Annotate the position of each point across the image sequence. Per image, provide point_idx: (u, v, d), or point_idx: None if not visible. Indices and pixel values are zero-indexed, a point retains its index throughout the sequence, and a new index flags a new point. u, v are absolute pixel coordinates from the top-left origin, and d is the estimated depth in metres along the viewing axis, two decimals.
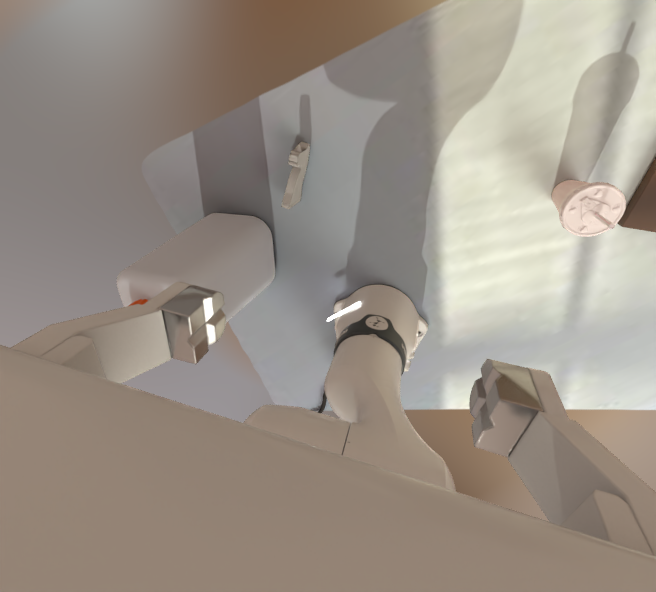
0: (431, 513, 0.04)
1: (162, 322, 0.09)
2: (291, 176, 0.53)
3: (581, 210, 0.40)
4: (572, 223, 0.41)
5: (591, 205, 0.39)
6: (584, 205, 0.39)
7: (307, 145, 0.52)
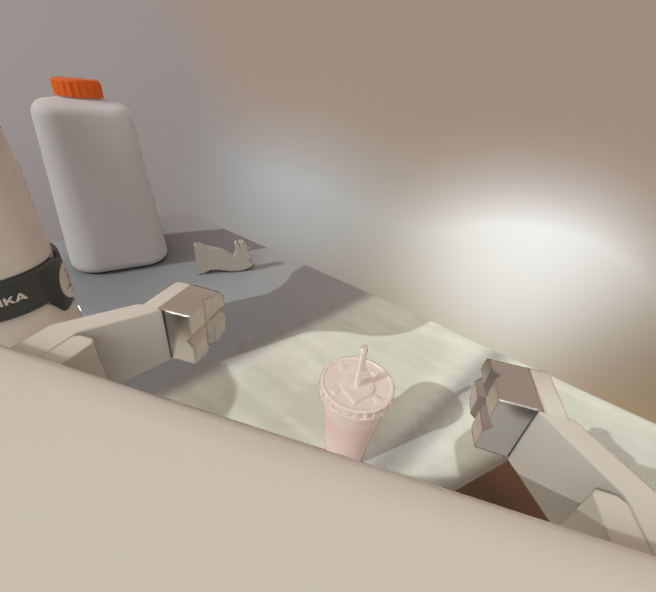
0: (431, 512, 0.04)
1: (162, 322, 0.09)
2: (223, 249, 0.59)
3: (349, 371, 0.29)
4: (330, 376, 0.28)
5: None
6: (355, 368, 0.29)
7: (251, 262, 0.61)
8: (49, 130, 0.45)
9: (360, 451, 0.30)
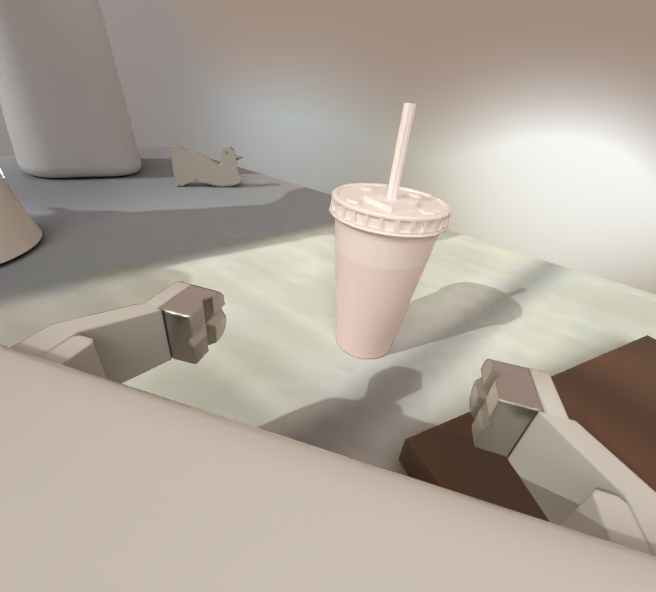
0: (431, 513, 0.04)
1: (162, 322, 0.09)
2: (206, 156, 0.49)
3: (376, 191, 0.18)
4: (348, 192, 0.18)
5: None
6: (386, 187, 0.19)
7: (241, 176, 0.51)
8: None
9: (391, 323, 0.19)
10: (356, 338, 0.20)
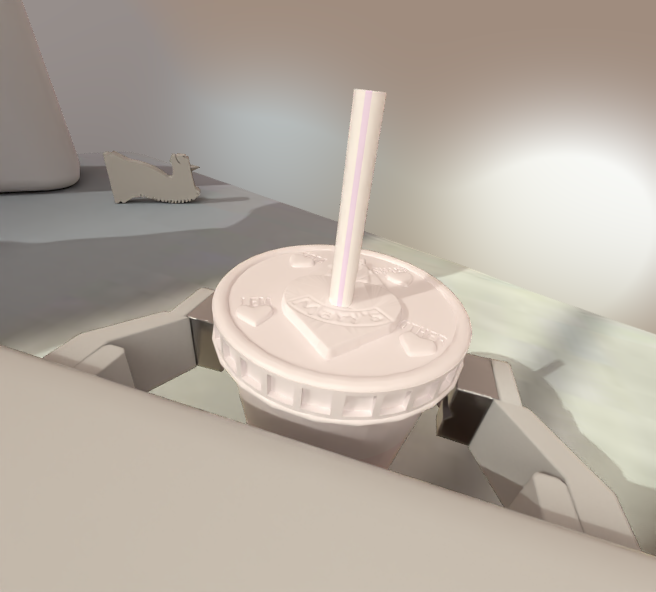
0: (431, 513, 0.04)
1: (189, 329, 0.09)
2: (153, 167, 0.40)
3: (319, 270, 0.09)
4: (257, 279, 0.09)
5: None
6: None
7: (198, 190, 0.42)
8: None
9: None
10: None
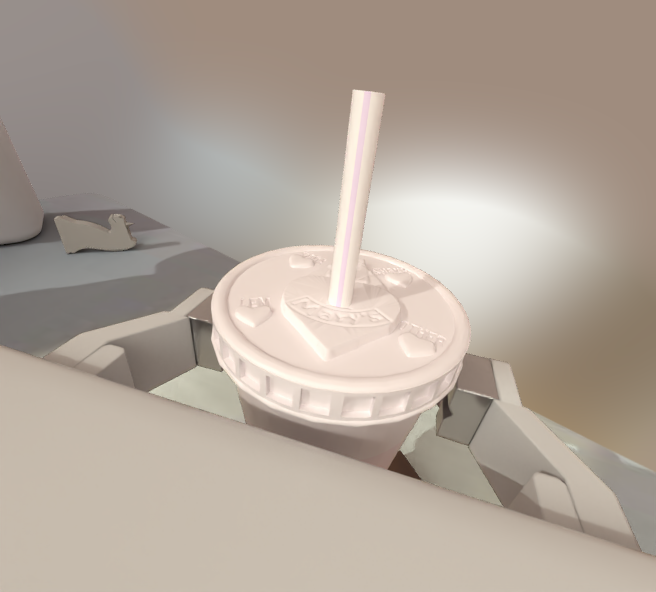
0: (431, 512, 0.04)
1: (189, 329, 0.09)
2: (96, 225, 0.51)
3: (318, 271, 0.09)
4: (256, 279, 0.09)
5: None
6: None
7: (134, 240, 0.53)
8: None
9: None
10: None
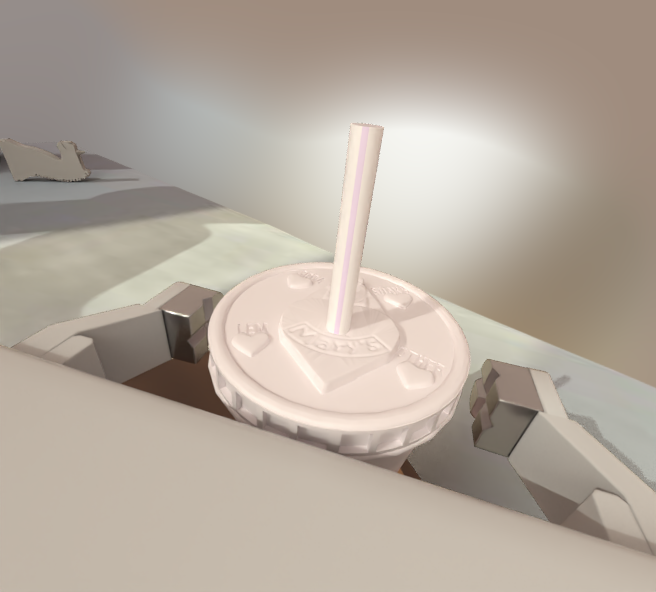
0: (431, 513, 0.04)
1: (162, 322, 0.09)
2: (45, 151, 0.49)
3: (317, 292, 0.09)
4: (254, 302, 0.09)
5: None
6: None
7: (86, 171, 0.51)
8: None
9: None
10: None
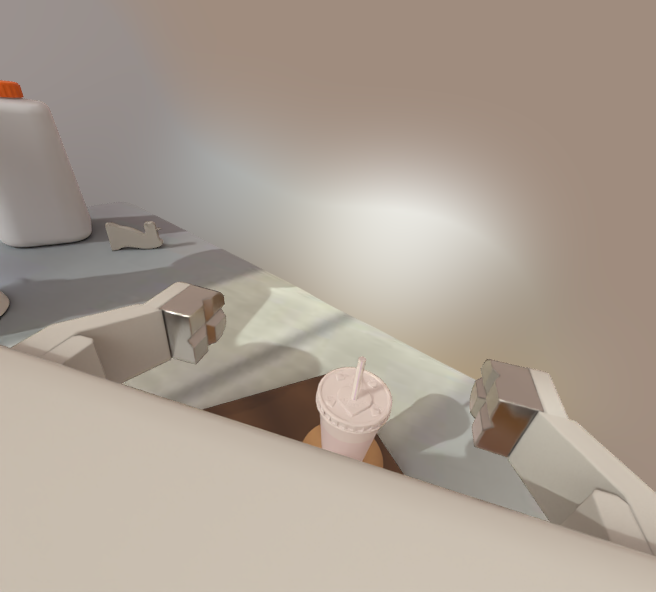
0: (431, 513, 0.04)
1: (162, 322, 0.09)
2: (134, 229, 0.68)
3: (346, 382, 0.28)
4: (328, 387, 0.28)
5: None
6: (353, 379, 0.29)
7: (161, 241, 0.71)
8: None
9: None
10: None
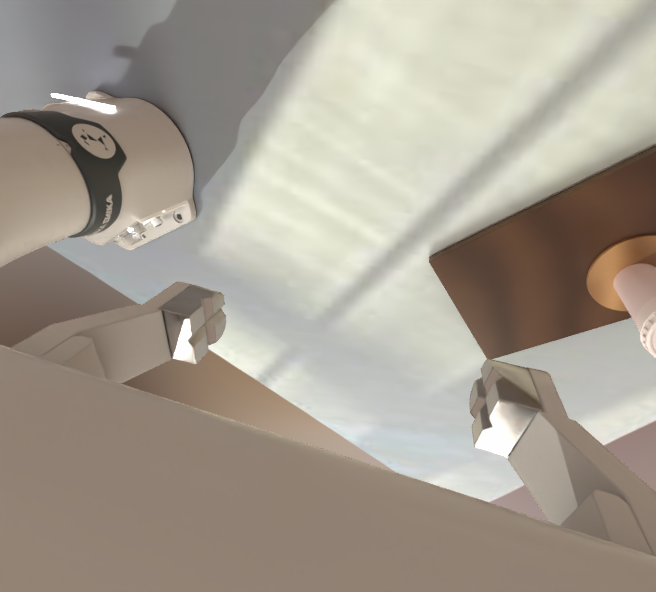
0: (431, 512, 0.04)
1: (162, 322, 0.09)
2: None
3: None
4: None
5: None
6: None
7: None
8: None
9: None
10: None
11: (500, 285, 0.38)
